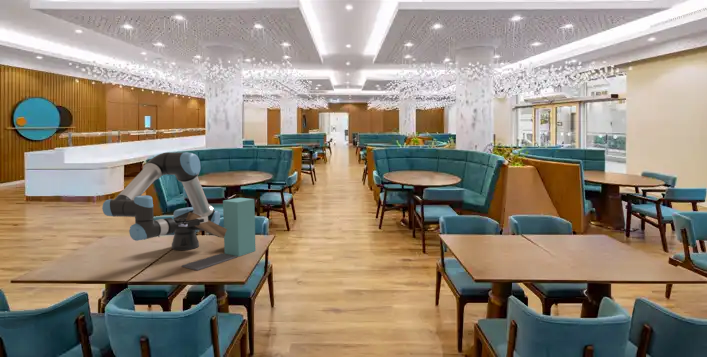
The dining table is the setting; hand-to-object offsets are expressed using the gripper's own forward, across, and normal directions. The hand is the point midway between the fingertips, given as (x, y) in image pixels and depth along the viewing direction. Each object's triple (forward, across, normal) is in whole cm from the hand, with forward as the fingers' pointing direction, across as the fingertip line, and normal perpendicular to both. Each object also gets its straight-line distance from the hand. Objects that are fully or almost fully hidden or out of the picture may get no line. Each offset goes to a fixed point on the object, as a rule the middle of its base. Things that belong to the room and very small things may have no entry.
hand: (204, 218), depth 226 cm
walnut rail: (0, 0, -6) cm, 6 cm away
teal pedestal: (+25, 0, -24) cm, 34 cm away
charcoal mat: (+3, 0, -24) cm, 24 cm away
